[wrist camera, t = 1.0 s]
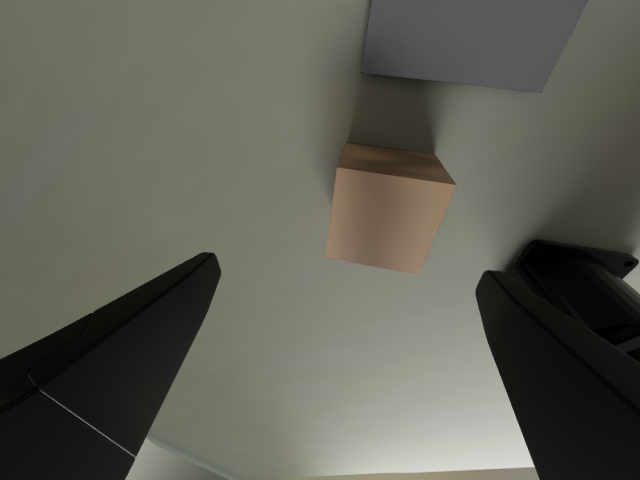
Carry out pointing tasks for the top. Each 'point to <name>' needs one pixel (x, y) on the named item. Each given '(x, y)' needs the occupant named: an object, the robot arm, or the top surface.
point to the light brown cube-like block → (387, 207)
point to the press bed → (470, 40)
